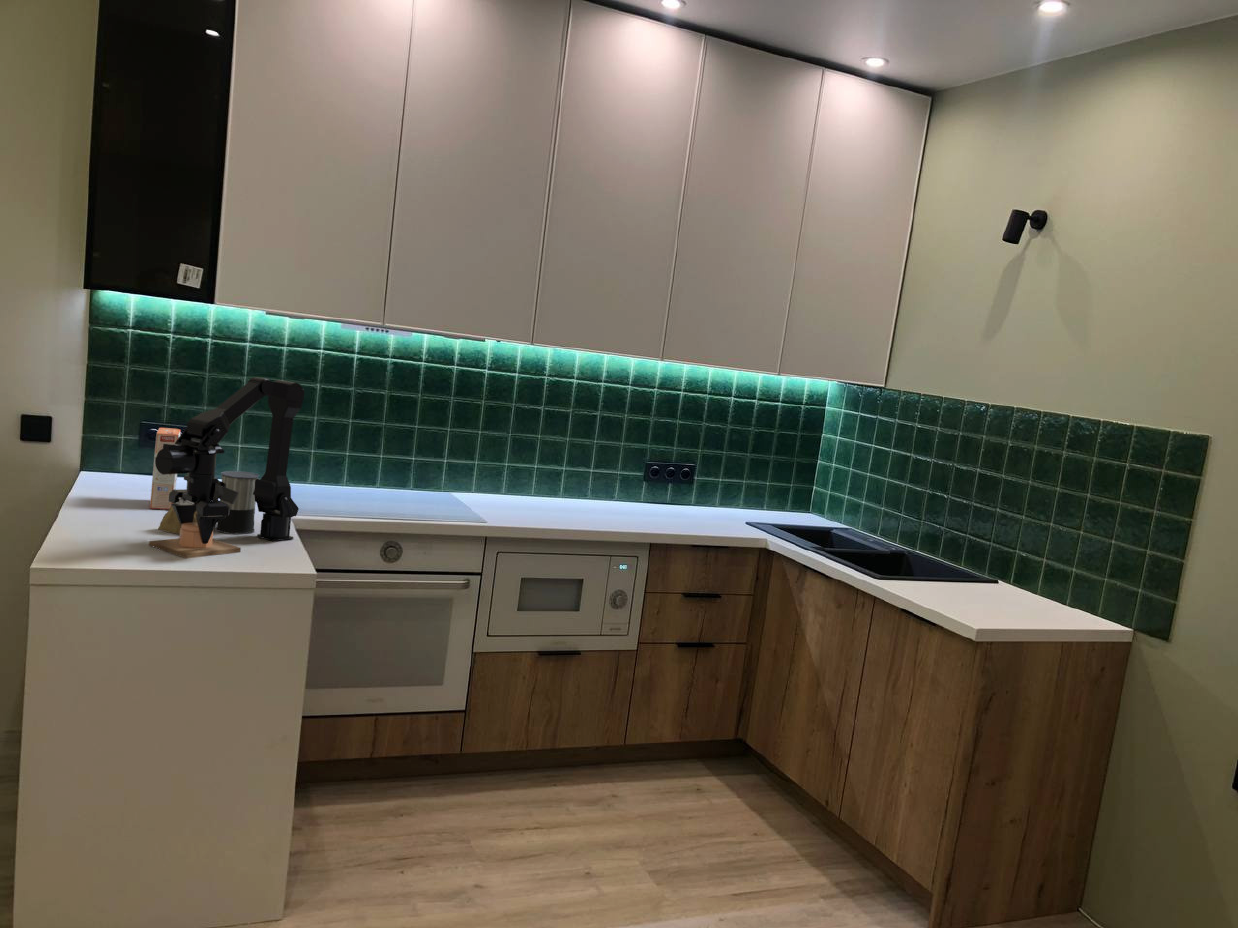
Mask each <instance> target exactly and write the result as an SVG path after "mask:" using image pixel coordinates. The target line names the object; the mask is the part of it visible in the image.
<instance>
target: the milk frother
mask: <svg viewBox="0 0 1238 928" xmlns="http://www.w3.org/2000/svg"><path fill="white" fill-rule="evenodd" d="M220 474H221V482H224V483H226V488H228V489H231V490H234V491H236V492H239V493H238V495H237V498H236V500H235V502H234V504H230V503H229V502H225V501H223V500H220V499H219V501H222V502H225V503H227V504H228V505H229V507H230V513H229V515H228V516H226V517H225V518H222V519H221V520H219V521H218V522H217V524H216V526H215V527H216V528H215V529H216V531H219V532H221V533H226V534H232V535H233V534H234V535H244V534H252V533H254V532H255V527H254V526H255V514H256V513H255V512H256V505H257V503H256V502H255V495H253V492H254V489H255V480H256V479H259V478H260V475H259V474H257V473H253V472H250V471H249V472H248V471H239V470H237V471H236V470H234V471H233V470H228V471H222V472H220Z"/></svg>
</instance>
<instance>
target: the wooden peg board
mask: <svg viewBox="0 0 1238 928" xmlns="http://www.w3.org/2000/svg"><path fill="white" fill-rule="evenodd" d="M179 538H180V537H178V538H170V539H169V538H167V539H166V538H165V539H157V540H149V542H148V546H149V545H151V546H150V547H152V546H154V547H153V548H155V547H157V548H156V549H158V548H160V549H159V550H161V549H162V550H161V551H164V550H165V551H164V552H167V553H170V554H173V555H176V556H179V557H182V558H184V559H191V558H200V557H210V556H218V555H225V554H235V553H241V547H240V546H237V545H234V544H230V543H227V542H223V541H221V540H218V539H214V538H213V541H212V546H209V547H205V548H191V547H185V546H181V545H180V544H179Z"/></svg>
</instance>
